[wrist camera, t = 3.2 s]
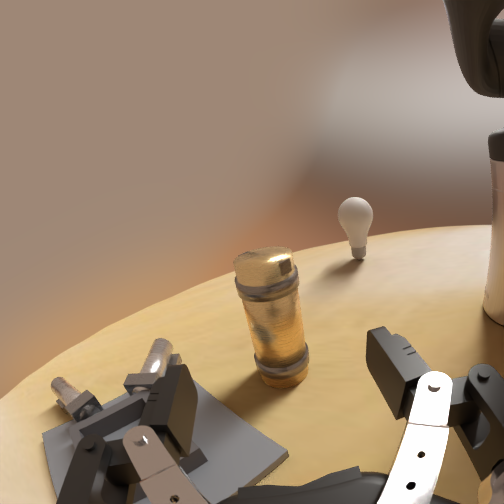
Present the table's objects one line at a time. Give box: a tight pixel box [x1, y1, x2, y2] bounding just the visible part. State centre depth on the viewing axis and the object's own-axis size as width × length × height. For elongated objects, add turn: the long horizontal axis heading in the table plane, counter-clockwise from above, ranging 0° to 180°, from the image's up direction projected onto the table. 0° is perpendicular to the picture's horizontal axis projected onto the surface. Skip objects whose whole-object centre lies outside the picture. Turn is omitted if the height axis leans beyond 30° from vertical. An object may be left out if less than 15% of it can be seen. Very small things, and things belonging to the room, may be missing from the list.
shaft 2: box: [123, 338, 182, 396], centre depth 26 cm, size 8×3×4 cm, turn 2°
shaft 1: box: [51, 377, 104, 423], centre depth 21 cm, size 8×3×4 cm, turn 62°
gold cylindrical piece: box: [233, 247, 309, 388], centre depth 23 cm, size 5×5×12 cm
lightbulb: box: [338, 197, 373, 260], centre depth 45 cm, size 6×6×11 cm
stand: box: [42, 380, 289, 504], centre depth 16 cm, size 16×18×3 cm
